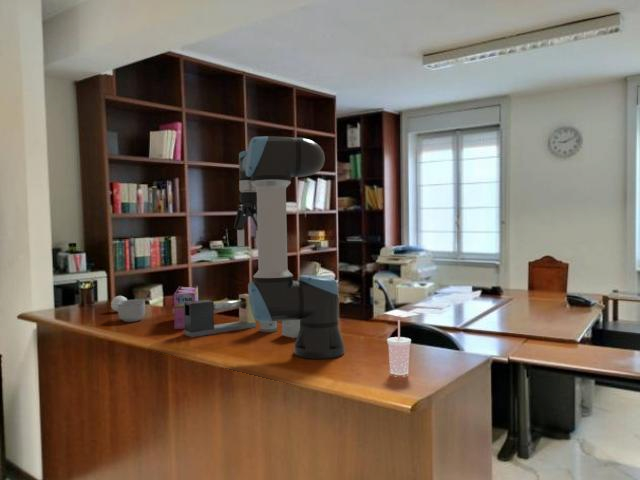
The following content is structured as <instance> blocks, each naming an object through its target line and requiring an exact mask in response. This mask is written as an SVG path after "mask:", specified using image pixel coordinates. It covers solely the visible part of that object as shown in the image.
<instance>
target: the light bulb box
mask: <svg viewBox="0 0 640 480" xmlns="http://www.w3.org/2000/svg"><path fill="white" fill-rule="evenodd" d="M281 323H282V324H281V325H282V326H281V327H282V329H281V330H282V336H284V337H288V338H291V339H292V338H293V339H295V338H296V339H297V336H298V333H299V329H300V320H286V321H281Z"/></svg>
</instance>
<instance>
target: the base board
mask: <svg viewBox="0 0 640 480" xmlns="http://www.w3.org/2000/svg"><path fill="white" fill-rule="evenodd" d="M252 328H257V322H255V323H251V324H245V323H242V322H239V321H234V322H227V323H226V322H225V323H220V324H214V329H210V330H204V331H197V332H188V331H185V329H183V335H185V336H187V337H191V338H196V336H197V337H202V336H208V335H215V334H219V333H220V334H221V333H227V332H233V331H239V330H246V329H252Z"/></svg>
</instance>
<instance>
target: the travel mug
mask: <svg viewBox="0 0 640 480" xmlns="http://www.w3.org/2000/svg"><path fill="white" fill-rule="evenodd" d="M277 322H278V321H272V322H259V331H260V332H261V333H267V334H269V333H274V332H276V331H278V323H277Z"/></svg>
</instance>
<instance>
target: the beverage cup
mask: <svg viewBox="0 0 640 480" xmlns="http://www.w3.org/2000/svg"><path fill="white" fill-rule="evenodd" d="M386 340H387V342H386V343H387V345H388V357H389V374H390V373H391V374H395V375H405V374H408V375H409V366H410V365H409V364H410V348H411V343H412V339H411V338H409V337H404V336H401V320H400V319H398V320H397V336H394V337H391V336H390V337H388V338H387V339H386ZM391 374H390V375H391Z"/></svg>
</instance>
